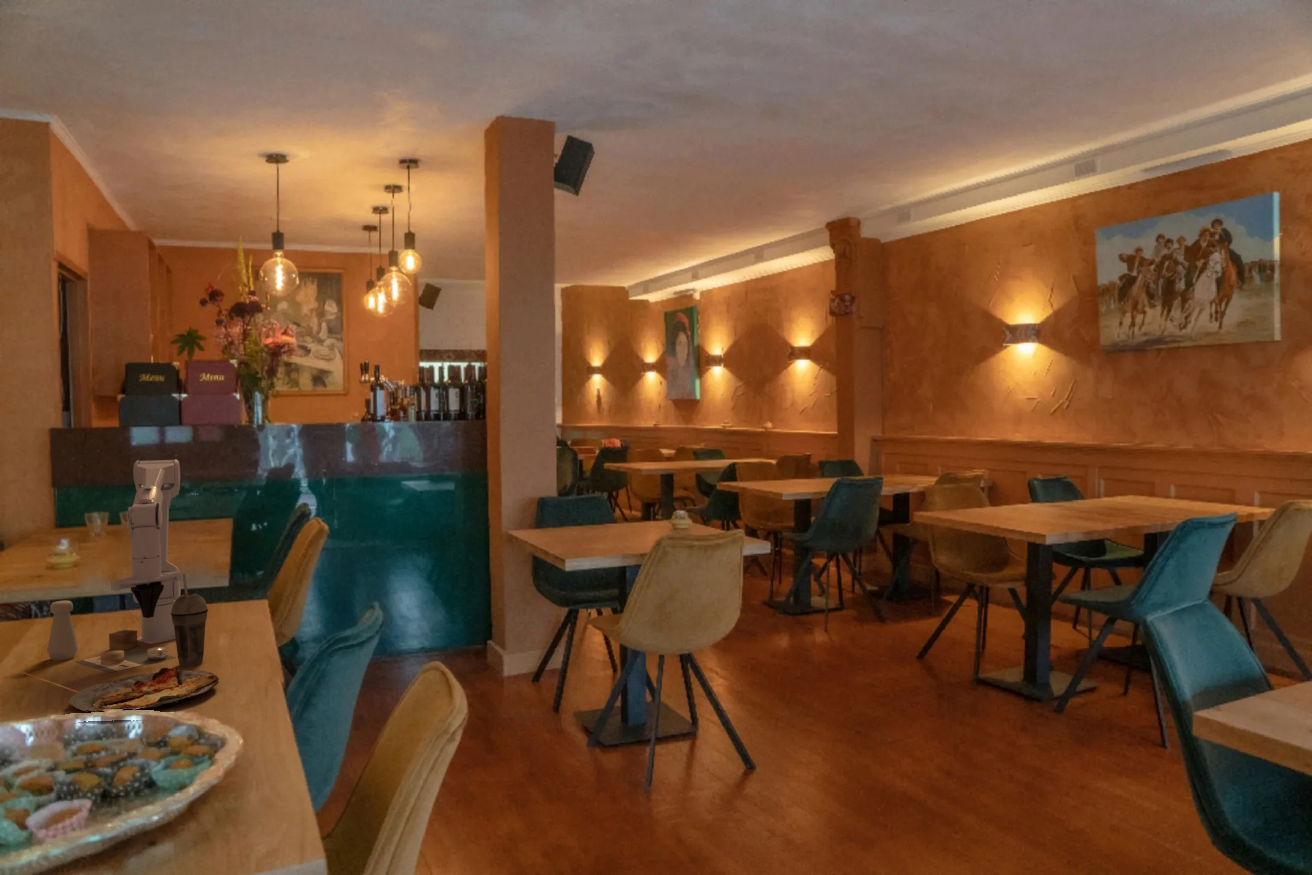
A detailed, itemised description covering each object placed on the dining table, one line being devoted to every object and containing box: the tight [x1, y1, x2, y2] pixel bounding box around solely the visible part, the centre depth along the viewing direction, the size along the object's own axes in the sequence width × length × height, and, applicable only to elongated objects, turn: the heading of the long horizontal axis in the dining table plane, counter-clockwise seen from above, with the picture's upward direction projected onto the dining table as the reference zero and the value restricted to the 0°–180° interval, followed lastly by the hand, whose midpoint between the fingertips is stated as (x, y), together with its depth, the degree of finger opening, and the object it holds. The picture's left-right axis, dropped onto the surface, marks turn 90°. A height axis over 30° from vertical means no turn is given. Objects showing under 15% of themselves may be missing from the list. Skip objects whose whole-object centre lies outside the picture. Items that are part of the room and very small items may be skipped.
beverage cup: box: [171, 573, 209, 668], centre depth 198 cm, size 7×7×20 cm
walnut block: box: [108, 629, 139, 651], centre depth 214 cm, size 4×4×4 cm
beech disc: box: [100, 650, 125, 665], centre depth 200 cm, size 4×4×2 cm
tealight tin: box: [147, 646, 168, 662], centre depth 203 cm, size 4×4×2 cm
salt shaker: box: [46, 600, 79, 662], centre depth 205 cm, size 6×6×13 cm
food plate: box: [68, 666, 220, 712], centre depth 175 cm, size 25×23×4 cm
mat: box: [75, 647, 178, 674], centre depth 203 cm, size 14×16×1 cm
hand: (148, 616), depth 207 cm, fingers closed
